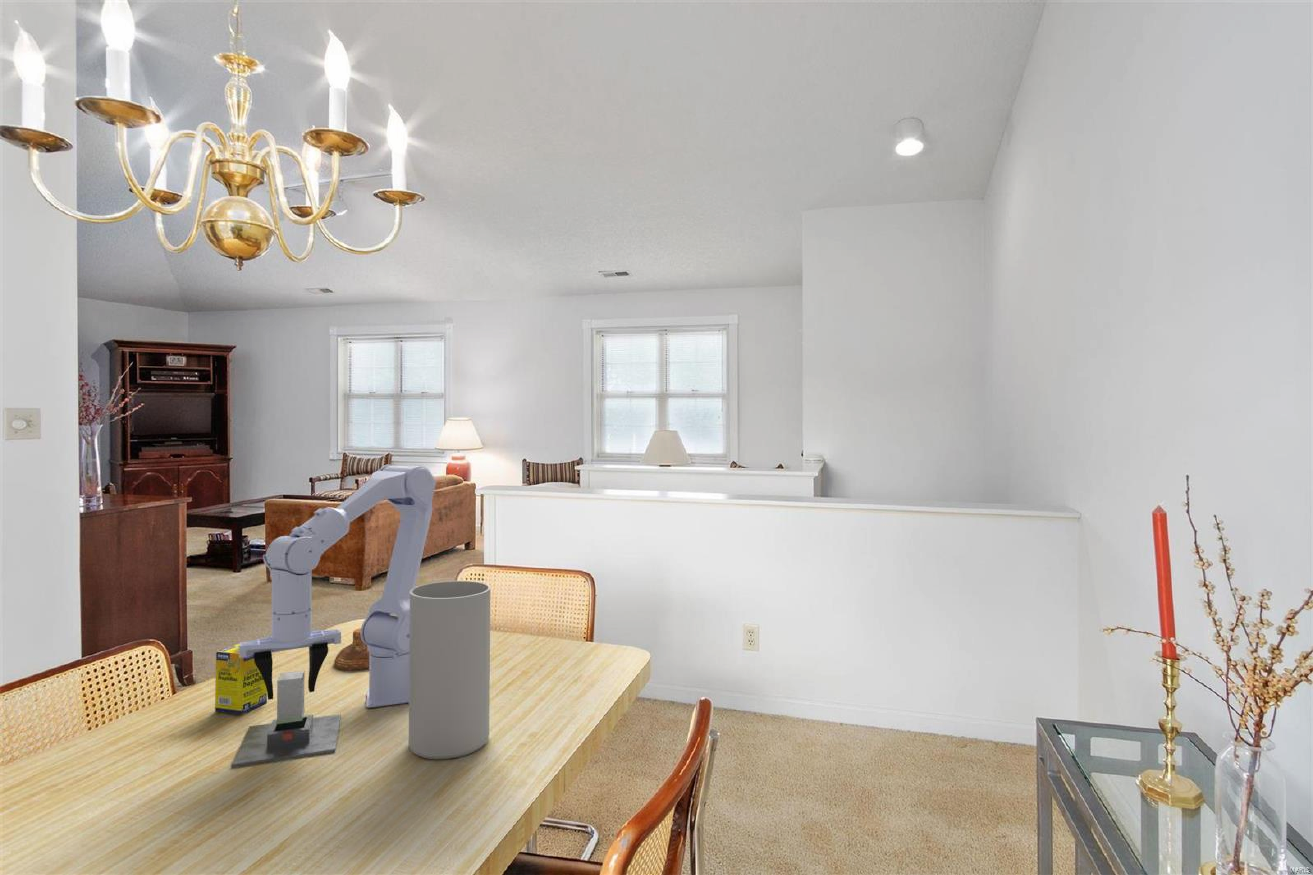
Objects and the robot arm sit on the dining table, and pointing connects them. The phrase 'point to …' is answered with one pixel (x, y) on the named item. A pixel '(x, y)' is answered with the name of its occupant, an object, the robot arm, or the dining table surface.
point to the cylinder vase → (449, 668)
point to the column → (290, 697)
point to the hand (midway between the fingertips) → (291, 693)
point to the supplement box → (237, 682)
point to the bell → (353, 655)
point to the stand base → (288, 740)
